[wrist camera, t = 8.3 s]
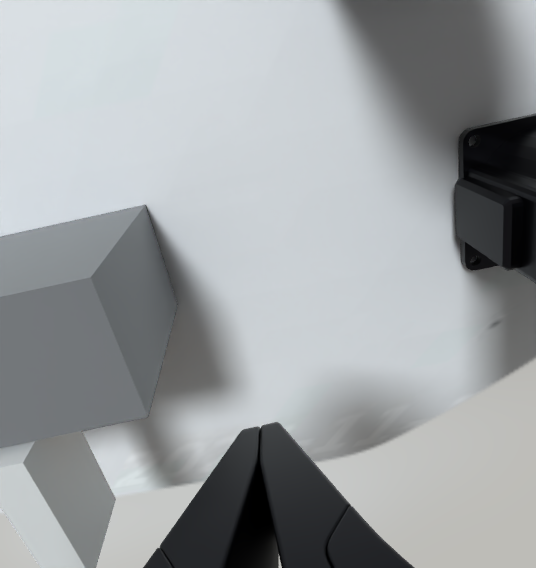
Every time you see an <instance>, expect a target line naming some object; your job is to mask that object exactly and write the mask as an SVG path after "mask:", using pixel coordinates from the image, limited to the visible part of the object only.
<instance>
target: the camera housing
mask: <svg viewBox="0 0 536 568" xmlns="http://www.w3.org/2000/svg"><path fill="white" fill-rule="evenodd" d="M177 306H178V303H177V300H176V297H175V294H174V291H173V287H172V284H171V281H170V278H169V275H168V272H167V269H166V266H165V263H164V260H163V257H162V254H161V251H160V248H159V245H158V242H157V239H156V236H155V233H154V230H153V226H152V223H151V220H150V217H149V214H148V211H147V208H146V205H142V206H138V207H133V208H129V209H124V210H120V211H115V212H110V213H106V214H101V215H97V216H92V217H88V218H83V219H79V220H74V221H70V222H65V223H61V224H56V225H52V226H47V227H42V228H38V229H33V230H29V231H24V232H20V233H15V234H11V235H6V236H2V237H0V448H3V447H8V446H13V445H18V444H22V443H27V442H32V441H37V440H41V439H46V438H51V437H56V436H61V435H65V434H70V433H75V432H80V431H85V430H89V429H94V428H99V427H104V426H109V425H113V424H118V423H123V422H128V421H133V420H137V419H142V418H147V417H148V416H149V412H150V408H151V404H152V400H153V397H154V393H155V389H156V385H157V382H158V378H159V374H160V370H161V366H162V363H163V359H164V355H165V351H166V348H167V344H168V340H169V336H170V333H171V329H172V325H173V321H174V317H175V314H176V310H177Z"/></svg>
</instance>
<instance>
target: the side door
mask: <svg viewBox="0 0 536 568" xmlns="http://www.w3.org/2000/svg"><path fill="white" fill-rule="evenodd" d="M115 500H116V499H115V497H114V495H113V493H112V491H111V489H110V487H109V485H108V483H107V481H106V479H105V477H104V475H103V473H102V471H101V469H100V467H99V465H98V463H97V461H96V459H95V457H94V455H93V453H92V451H91V449H90V447H89V445H88V443H87V441H86V439H85V437H84V435H83V433H82V431H80V432H75V433H70V434H65V435H61V436H56V437H51V438H46V439H41V440H37V441H32V442H27V443H22V444H18V445H13V446H8V447H3V448H0V508H1V509H2V511H3V512H4V514H5V515H6V517H7V518H8V520H9V521H10V523H11V524H12V526H13V527H14V529H15V530H16V532H17V533H18V535H19V536H20V538H21V539H22V541H23V542H24V544H25V545H26V547H27V548H28V550H29V551H30V553H31V554H32V556H33V557H34V559H35V560H36V562H37V563H38V565H39V567H40V568H96V565H97V562H98V559H99V555H100V552H101V548H102V544H103V541H104V538H105V535H106V531H107V528H108V524H109V521H110V517H111V514H112V510H113V507H114V503H115Z"/></svg>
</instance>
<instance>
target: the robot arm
mask: <svg viewBox="0 0 536 568" xmlns="http://www.w3.org/2000/svg"><path fill="white" fill-rule="evenodd" d="M473 135H475V136H476V142H475V143H474V145H472V146H469V139H470V138H471V137H472V136H473ZM455 203H456V235H457V236H458V237H459V238H460V239H461V261H462V264H463V265H464V266H465V267H466V268H468V269H470V270H479V269H484V268H489V267H493V266H498V265H500V266H501V267H503V268H504V269H505V270H513V269H515V270H516V271H518V272H519V273H521V274H523V275H524V276H526V277H527V278H529V279H530V280H532V281H533V282H535V283H536V114H531V115H527V116H522V117H518V118H513V119H509V120H504V121H500V122H495V123H491V124H486V125H482V126H477V127H472V128H469V129H467V130H465V131H464V132H463V133H462V134H461V136H460V138H459V179H458V181H457V182H456V184H455ZM474 256H477V258H476V260H475V261H474V262H472V263H470V261H471V258H472V257H474ZM278 554H279V555H278ZM278 556H280V561H281V565H282V568H414V567H413V566H412V565H411V564H409V563H408V562H407V561H406V560H405V559H404V558H402V557H401V556H400V555H399V554H398V553H397V552H396V551H395V550H394V549H393V548H392V547H391V546H389V545H388V544H387V543H386V542H385V541H384V540H383V539H382V538H381V537H380V536H379V535H378V534H377V533H376V532H375V531H374V530H373V529H372V528H371V527H370V526H369V524H368V523H367V522H366V521H365V520H364V519H363V518H362V517H361V516H360V515H359V513H358V512H357V511H356V510H355V509H354V508H353V507H351V505H350V504H349V503H348V502H347V500H346V499H345V498H344V497H343V496H342V495H341V493H340V492H339V491H338V490H337V489H336V488H335V486H334V485H333V484H332V483H331V482H330V481H329V480H328V478H327V477H326V476H325V475H324V474H323V473H322V471H321V470H320V469H319V468H318V467H317V466H316V465H315V463H314V462H313V461H312V460H311V459H310V458H309V456H308V455H307V454H306V453H305V452H304V451H303V449H302V448H301V447H300V446H299V445H298V444H297V443H296V441H295V440H294V439H293V438H292V437H291V436H290V434H289V433H288V432H287V431H286V430H285V429H284V428H283V426H282V425H281V424H280V423H278V422H275V423H271V424H266V425H263V426H262V427H261V428H260V427H253V428H248V429H244V430H242V431H241V432H240V434H239V435H238V436H237V438H236V439H235V441H234V442H233V443H232V445H231V446H230V448H229V449H228V450H227V452H226V453H225V455H224V456H223V457H222V459H221V460H220V462H219V463H218V465H217V466H216V467H215V469H214V470H213V472H212V473H211V474H210V476H209V477H208V479H207V480H206V481H205V483H204V484H203V486H202V487H201V489H200V490H199V491H198V493H197V494H196V496H195V497H194V498H193V500H192V501H191V503H190V504H189V505H188V507H187V508H186V510H185V511H184V513H183V514H182V515H181V517H180V518H179V519H178V521H177V522H176V524H175V525H174V527H173V528H172V529H171V531H170V532H169V534H168V535H167V536H166V538H165V539H164V541H163V542H162V543H161V545H160V548H157V549H156V551H155V552H154V554H153V555H152V556H151V558H150V559H149V561H148V562H147V563H146V565H145V566H144V567H143V568H278Z"/></svg>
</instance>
